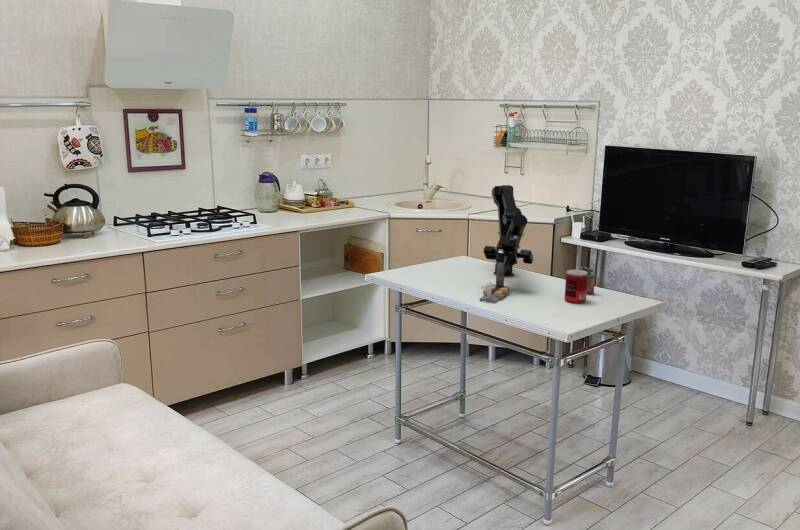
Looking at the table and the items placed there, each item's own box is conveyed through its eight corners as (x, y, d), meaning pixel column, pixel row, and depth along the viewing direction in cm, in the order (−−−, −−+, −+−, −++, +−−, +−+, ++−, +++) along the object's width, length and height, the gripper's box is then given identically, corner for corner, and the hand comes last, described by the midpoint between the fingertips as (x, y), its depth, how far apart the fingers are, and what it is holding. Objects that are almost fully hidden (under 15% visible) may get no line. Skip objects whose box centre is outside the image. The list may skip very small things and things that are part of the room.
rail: (494, 291, 272) (494, 273, 270) (509, 293, 269) (510, 275, 268) (479, 301, 259) (480, 282, 257) (495, 303, 256) (495, 284, 254)
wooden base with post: (492, 288, 271) (493, 261, 269) (509, 290, 268) (510, 263, 266) (482, 294, 262) (483, 266, 260) (500, 297, 259) (502, 269, 257)
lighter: (572, 291, 273) (574, 266, 270) (576, 290, 275) (578, 265, 273) (591, 295, 267) (593, 270, 265) (595, 293, 270) (597, 268, 267)
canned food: (586, 299, 263) (588, 270, 260) (584, 304, 255) (587, 275, 253) (565, 297, 265) (567, 268, 263) (563, 302, 258) (565, 273, 255)
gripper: (485, 225, 274) (474, 258, 266) (532, 229, 265) (522, 263, 258) (492, 241, 282) (481, 274, 275) (537, 246, 274) (527, 280, 267)
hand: (502, 272), depth 268 cm, fingers closed
